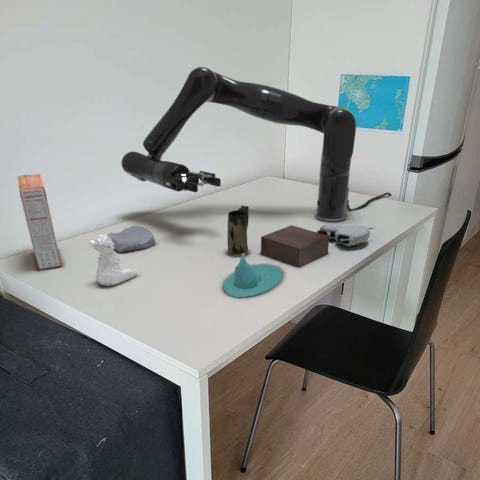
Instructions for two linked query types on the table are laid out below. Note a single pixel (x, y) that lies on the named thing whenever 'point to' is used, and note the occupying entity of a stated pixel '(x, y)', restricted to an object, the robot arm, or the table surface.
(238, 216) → the mug
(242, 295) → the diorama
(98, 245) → the sitting furry creature
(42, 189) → the cracker box
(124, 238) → the stone block
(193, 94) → the robot arm
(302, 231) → the walnut block
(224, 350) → the table surface
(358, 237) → the robot toy
